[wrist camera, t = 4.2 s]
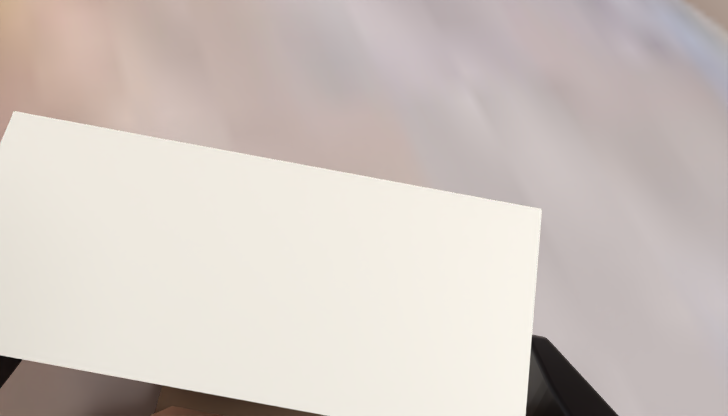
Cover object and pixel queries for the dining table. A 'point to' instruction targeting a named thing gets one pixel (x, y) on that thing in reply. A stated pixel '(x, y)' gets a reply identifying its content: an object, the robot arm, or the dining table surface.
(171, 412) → the block
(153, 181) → the tall white pillar
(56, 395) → the dining table surface
